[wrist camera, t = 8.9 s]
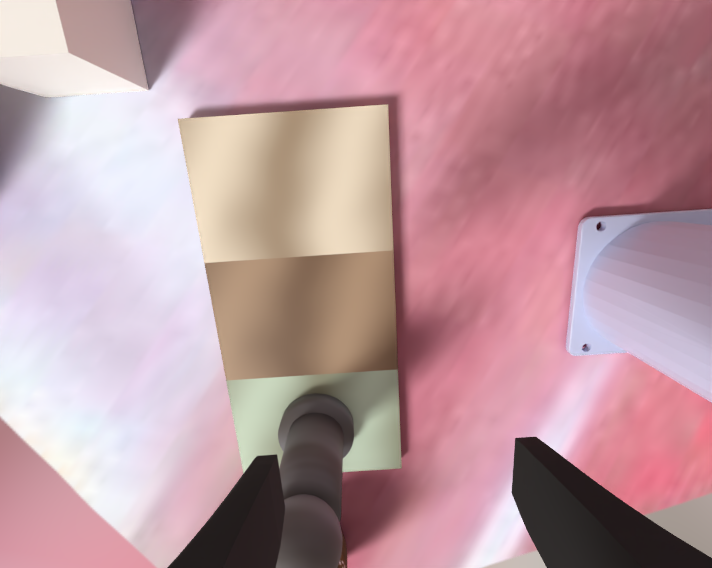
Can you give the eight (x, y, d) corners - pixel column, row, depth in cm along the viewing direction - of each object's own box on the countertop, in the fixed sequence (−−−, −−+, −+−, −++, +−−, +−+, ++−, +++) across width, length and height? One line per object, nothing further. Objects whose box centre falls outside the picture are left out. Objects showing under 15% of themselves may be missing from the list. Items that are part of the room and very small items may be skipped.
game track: (386, 108, 17) (387, 104, 17) (399, 458, 23) (401, 468, 22) (185, 122, 17) (177, 118, 17) (248, 468, 23) (244, 478, 22)
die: (123, -34, 16) (20, -133, 11) (148, 90, 17) (66, 51, 12) (12, -26, 16) (-141, -122, 11) (46, 97, 17) (-77, 61, 12)
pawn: (355, 453, 22) (358, 628, 13) (285, 457, 22) (241, 634, 13) (351, 391, 21) (351, 538, 12) (277, 395, 21) (223, 546, 12)
